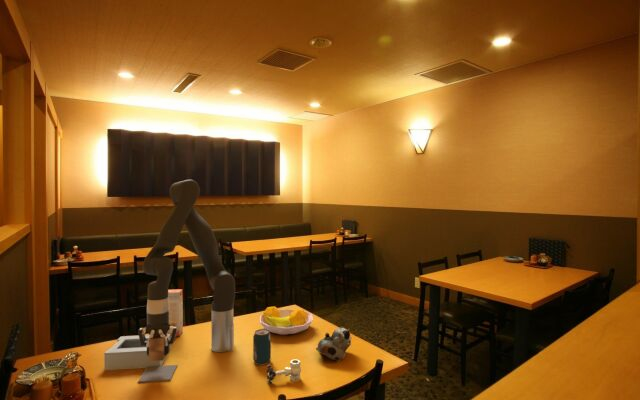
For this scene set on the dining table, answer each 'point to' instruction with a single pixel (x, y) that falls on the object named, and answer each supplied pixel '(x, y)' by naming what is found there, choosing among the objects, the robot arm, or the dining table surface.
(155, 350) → the walnut block
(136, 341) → the box
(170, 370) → the rubber pad
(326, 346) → the grey metal pump housing
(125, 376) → the dining table surface
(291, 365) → the valve
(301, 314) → the fruit bowl
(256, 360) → the soda can
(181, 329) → the cracker box
